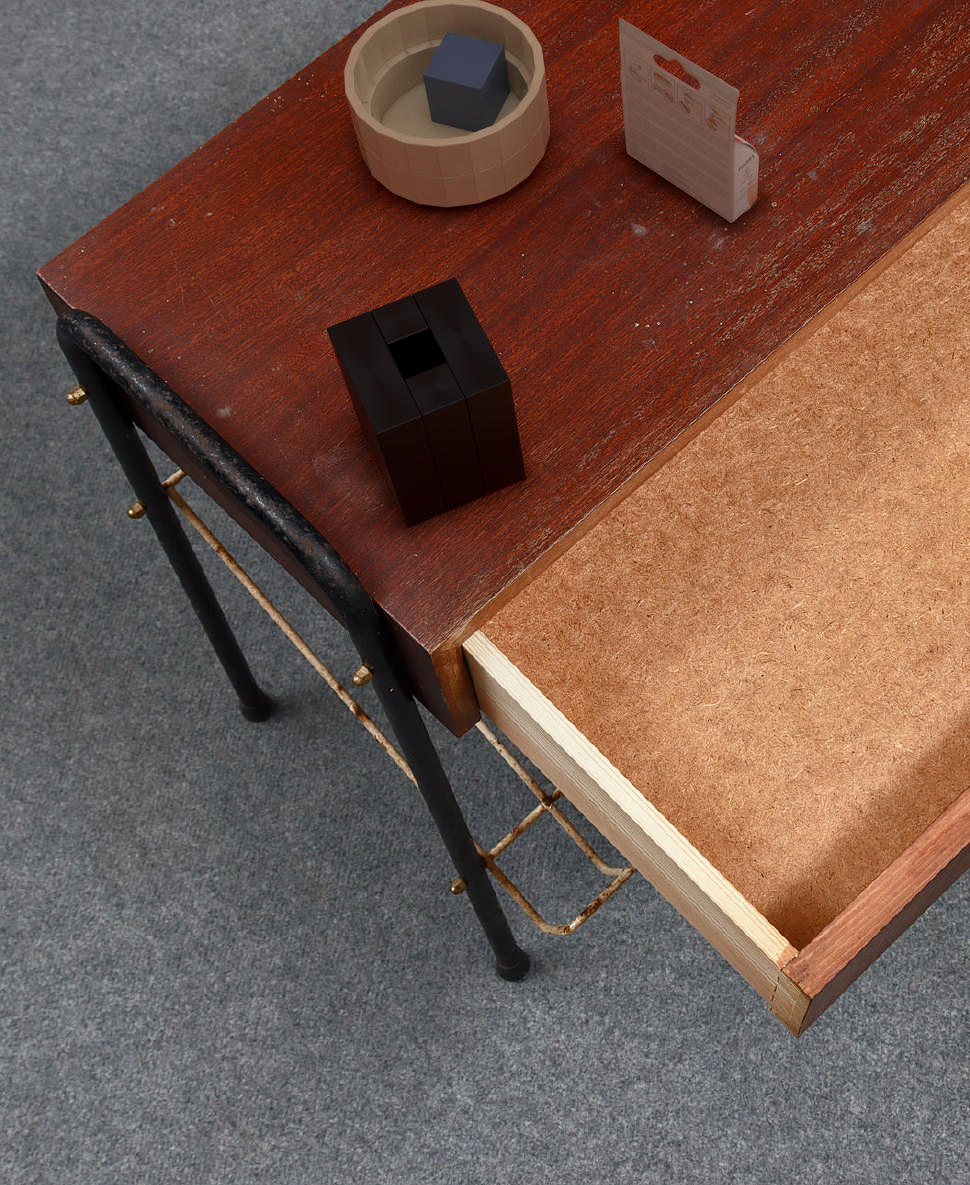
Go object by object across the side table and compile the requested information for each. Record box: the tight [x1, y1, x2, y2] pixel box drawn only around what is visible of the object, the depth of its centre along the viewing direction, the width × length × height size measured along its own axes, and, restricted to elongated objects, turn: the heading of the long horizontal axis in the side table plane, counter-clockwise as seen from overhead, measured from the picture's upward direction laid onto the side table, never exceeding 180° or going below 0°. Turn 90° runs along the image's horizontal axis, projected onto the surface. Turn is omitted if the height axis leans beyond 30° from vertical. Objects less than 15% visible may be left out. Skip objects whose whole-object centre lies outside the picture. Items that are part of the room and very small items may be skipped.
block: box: [423, 32, 510, 132], centre depth 90 cm, size 4×4×4 cm
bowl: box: [343, 0, 551, 208], centre depth 89 cm, size 12×12×6 cm
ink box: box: [618, 17, 760, 224], centre depth 84 cm, size 3×9×12 cm, turn 48°
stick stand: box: [325, 276, 527, 529], centre depth 77 cm, size 7×7×10 cm
